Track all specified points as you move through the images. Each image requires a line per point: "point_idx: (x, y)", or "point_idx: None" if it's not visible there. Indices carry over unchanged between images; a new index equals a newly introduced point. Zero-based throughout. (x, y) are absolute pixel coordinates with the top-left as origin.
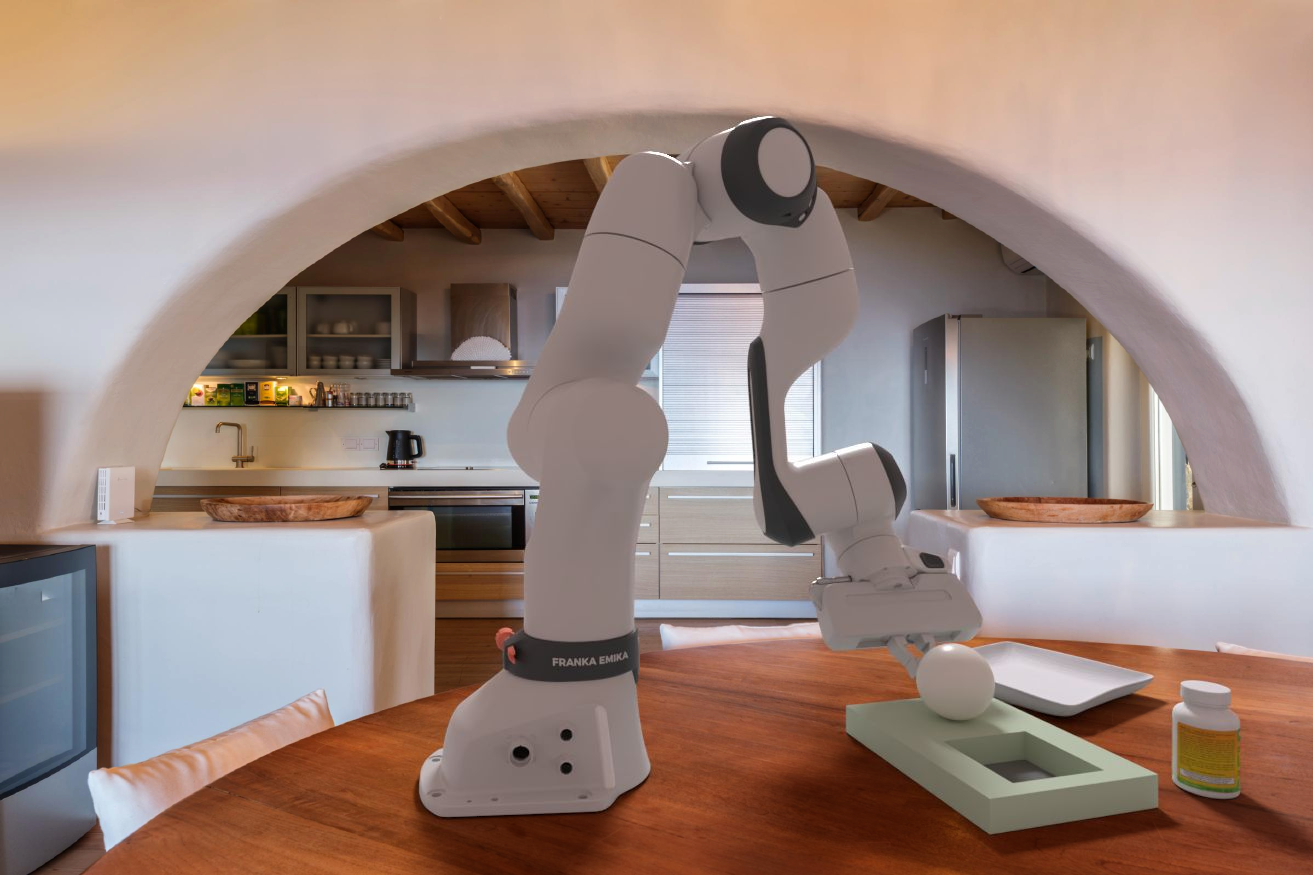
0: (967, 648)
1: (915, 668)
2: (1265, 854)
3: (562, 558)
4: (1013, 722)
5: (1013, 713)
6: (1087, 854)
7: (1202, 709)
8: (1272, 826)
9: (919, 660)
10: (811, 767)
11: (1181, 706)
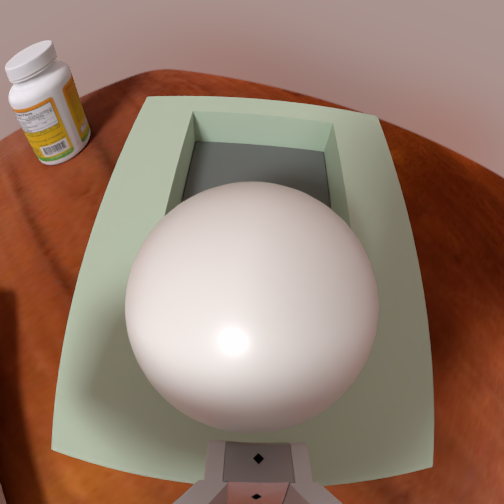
0: (228, 212)
1: (305, 452)
2: (163, 75)
3: None
4: None
5: (96, 311)
6: (300, 101)
7: (55, 62)
8: (107, 94)
9: (279, 472)
10: (491, 331)
11: (45, 80)
